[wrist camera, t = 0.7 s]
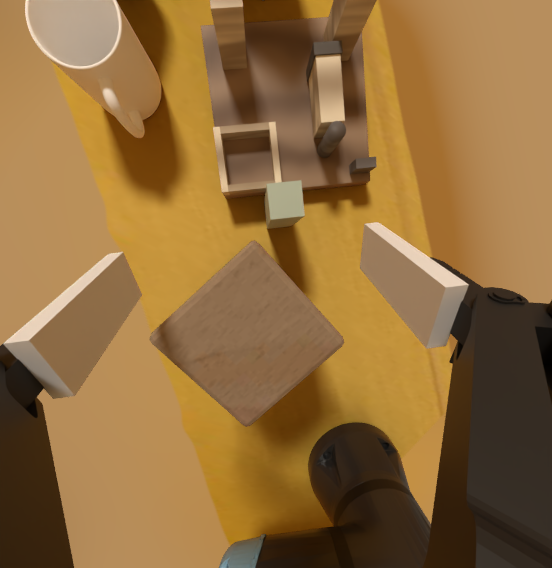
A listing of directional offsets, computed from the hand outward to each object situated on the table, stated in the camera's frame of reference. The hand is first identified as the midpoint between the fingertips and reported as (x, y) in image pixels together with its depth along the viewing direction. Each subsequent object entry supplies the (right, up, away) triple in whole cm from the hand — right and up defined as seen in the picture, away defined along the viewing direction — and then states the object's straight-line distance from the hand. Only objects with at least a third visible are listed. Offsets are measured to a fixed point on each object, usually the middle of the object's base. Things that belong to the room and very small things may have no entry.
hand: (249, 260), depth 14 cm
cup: (-17, +22, +19) cm, 34 cm away
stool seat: (+3, +22, +20) cm, 30 cm away
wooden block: (-2, -2, +23) cm, 23 cm away
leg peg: (+2, +9, +22) cm, 24 cm away
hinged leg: (+7, +22, +18) cm, 30 cm away
